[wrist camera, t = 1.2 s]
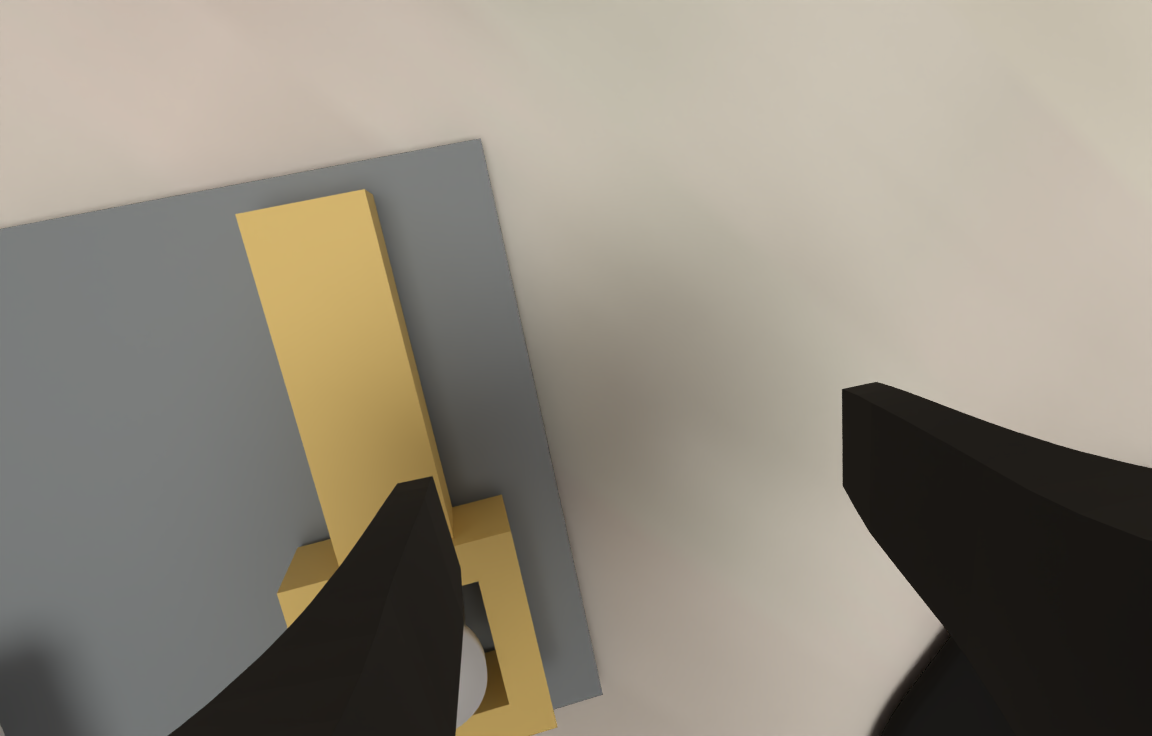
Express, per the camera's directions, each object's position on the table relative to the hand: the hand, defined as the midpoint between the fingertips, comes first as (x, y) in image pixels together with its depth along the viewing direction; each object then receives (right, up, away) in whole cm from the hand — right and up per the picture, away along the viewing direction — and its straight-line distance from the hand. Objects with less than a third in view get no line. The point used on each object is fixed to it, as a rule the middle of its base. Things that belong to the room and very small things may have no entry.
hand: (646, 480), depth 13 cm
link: (-7, -1, +10) cm, 12 cm away
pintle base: (-13, -3, +10) cm, 17 cm away
